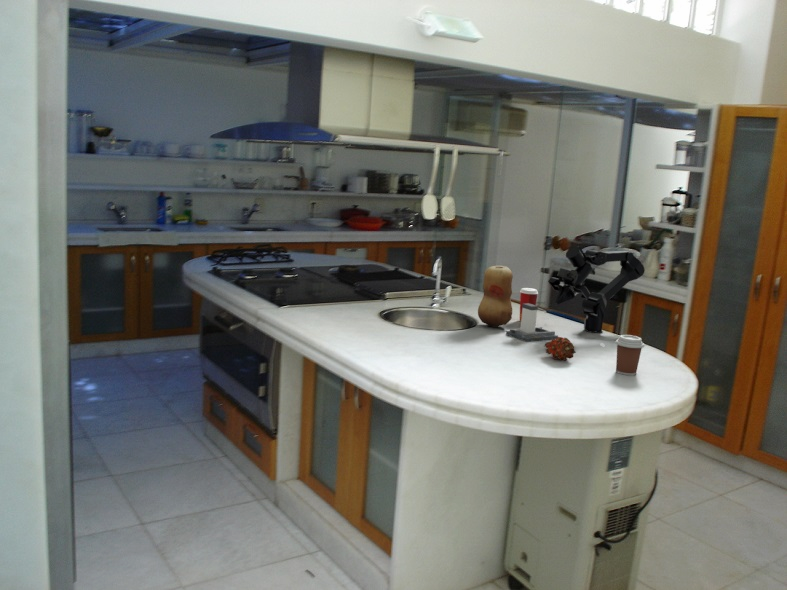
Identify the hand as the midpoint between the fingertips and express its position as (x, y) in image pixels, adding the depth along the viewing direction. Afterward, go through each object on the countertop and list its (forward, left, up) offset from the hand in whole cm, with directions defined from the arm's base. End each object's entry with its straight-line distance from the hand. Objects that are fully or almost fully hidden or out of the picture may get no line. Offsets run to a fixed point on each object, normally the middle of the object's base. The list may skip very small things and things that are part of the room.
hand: (556, 303), depth 286 cm
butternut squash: (+23, -5, -13) cm, 27 cm away
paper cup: (+9, -20, -13) cm, 25 cm away
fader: (+11, +8, -11) cm, 18 cm away
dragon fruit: (+3, +37, -13) cm, 39 cm away
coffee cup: (-18, +47, -13) cm, 52 cm away
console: (+9, +7, -12) cm, 17 cm away
